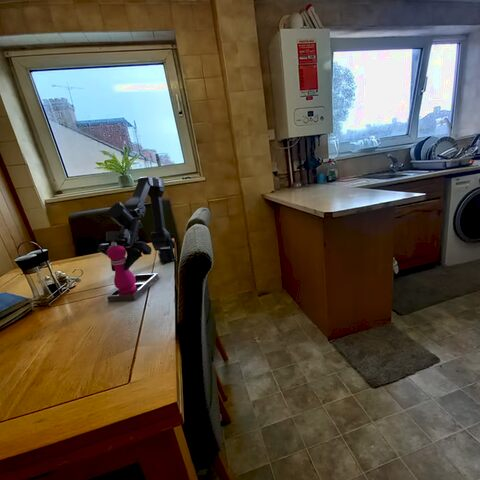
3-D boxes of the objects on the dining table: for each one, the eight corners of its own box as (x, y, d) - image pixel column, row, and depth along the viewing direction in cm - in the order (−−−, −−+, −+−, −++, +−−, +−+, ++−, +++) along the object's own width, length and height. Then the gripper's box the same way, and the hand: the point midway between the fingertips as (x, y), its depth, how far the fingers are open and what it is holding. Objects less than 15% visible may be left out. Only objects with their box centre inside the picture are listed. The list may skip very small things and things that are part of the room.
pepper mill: (142, 287, 107) (128, 238, 99) (132, 296, 100) (116, 244, 93) (124, 287, 108) (110, 238, 100) (113, 297, 101) (96, 245, 93)
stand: (158, 277, 117) (157, 273, 116) (134, 300, 99) (133, 294, 98) (136, 279, 118) (134, 274, 117) (108, 301, 100) (106, 296, 99)
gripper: (92, 222, 100) (79, 262, 94) (138, 219, 96) (127, 260, 90) (113, 237, 110) (102, 274, 104) (156, 234, 106) (147, 273, 100)
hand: (119, 270), depth 99 cm, fingers closed on pepper mill, 5 cm apart
